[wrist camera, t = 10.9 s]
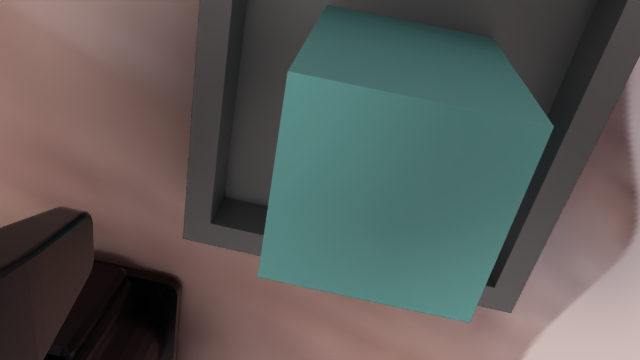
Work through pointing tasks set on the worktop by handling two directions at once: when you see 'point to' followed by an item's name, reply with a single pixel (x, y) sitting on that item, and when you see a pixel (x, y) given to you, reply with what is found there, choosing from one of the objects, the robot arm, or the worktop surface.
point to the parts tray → (421, 7)
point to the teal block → (398, 163)
